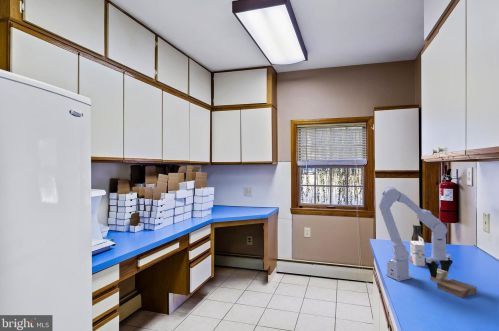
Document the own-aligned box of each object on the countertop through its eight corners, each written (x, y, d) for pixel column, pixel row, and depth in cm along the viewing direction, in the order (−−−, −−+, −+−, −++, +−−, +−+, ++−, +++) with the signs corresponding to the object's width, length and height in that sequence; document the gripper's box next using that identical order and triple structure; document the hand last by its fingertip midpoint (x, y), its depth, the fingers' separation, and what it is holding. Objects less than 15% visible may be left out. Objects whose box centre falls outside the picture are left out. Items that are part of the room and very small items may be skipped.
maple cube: (440, 284, 134) (440, 273, 134) (430, 280, 139) (430, 269, 139) (447, 282, 136) (447, 271, 136) (437, 278, 141) (437, 268, 141)
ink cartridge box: (409, 260, 166) (409, 235, 166) (419, 261, 165) (419, 235, 165) (415, 266, 158) (414, 239, 158) (425, 266, 157) (424, 239, 157)
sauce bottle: (420, 256, 173) (419, 223, 173) (426, 260, 167) (426, 225, 167) (409, 256, 173) (408, 223, 173) (415, 260, 167) (415, 225, 166)
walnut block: (460, 298, 121) (460, 291, 120) (437, 289, 130) (437, 282, 130) (476, 294, 124) (476, 287, 124) (452, 285, 133) (452, 279, 133)
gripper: (436, 251, 131) (436, 281, 131) (457, 247, 136) (458, 276, 136) (421, 247, 138) (422, 275, 138) (442, 243, 143) (443, 271, 143)
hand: (439, 275), depth 137 cm, fingers open, 7 cm apart
